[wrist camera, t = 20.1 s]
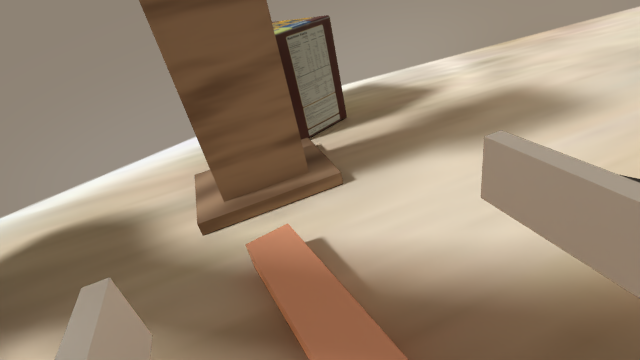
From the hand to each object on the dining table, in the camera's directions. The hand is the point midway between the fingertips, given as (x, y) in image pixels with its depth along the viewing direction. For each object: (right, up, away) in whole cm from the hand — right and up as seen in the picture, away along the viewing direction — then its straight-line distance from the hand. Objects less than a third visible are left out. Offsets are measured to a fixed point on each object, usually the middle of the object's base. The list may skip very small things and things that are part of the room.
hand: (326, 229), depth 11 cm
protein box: (-4, +11, +46) cm, 48 cm away
